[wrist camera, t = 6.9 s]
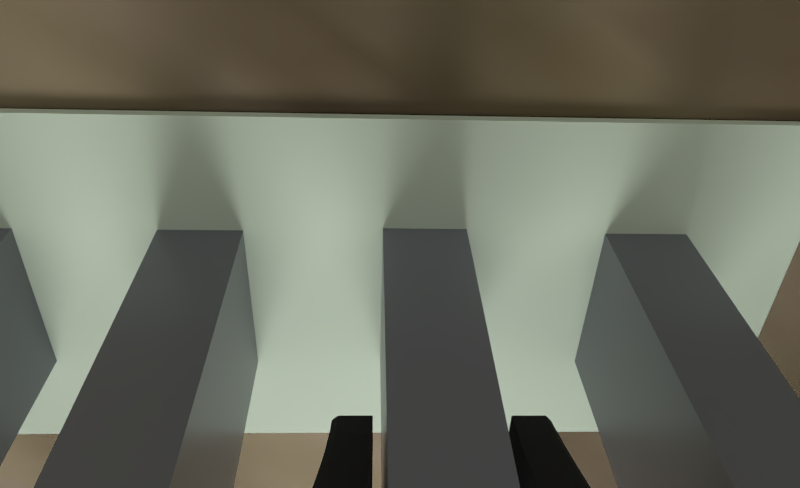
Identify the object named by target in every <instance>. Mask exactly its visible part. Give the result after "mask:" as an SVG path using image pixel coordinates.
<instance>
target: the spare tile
mask: <svg viewBox="0 0 800 488" xmlns="http://www.w3.org/2000/svg"><path fill="white" fill-rule="evenodd" d="M380 389H381V474H382V488H520V484H519V480H518V475H517V470H516V465H515V460H514V455H513V451H512V446H511V441H510V436H509V431H508V426H507V422H506V417H505V412H504V407H503V402H502V397H501V393H500V388H499V383H498V378H497V373H496V368H495V364H494V359H493V354H492V349H491V344H490V339H489V335H488V330H487V325H486V320H485V315H484V310H483V305H482V301H481V296H480V291H479V286H478V281H477V276H476V272H475V267H474V262H473V257H472V252H471V247H470V243H469V238H468V233H467V229H410V228H383V245H382V293H381V342H380Z"/></svg>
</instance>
